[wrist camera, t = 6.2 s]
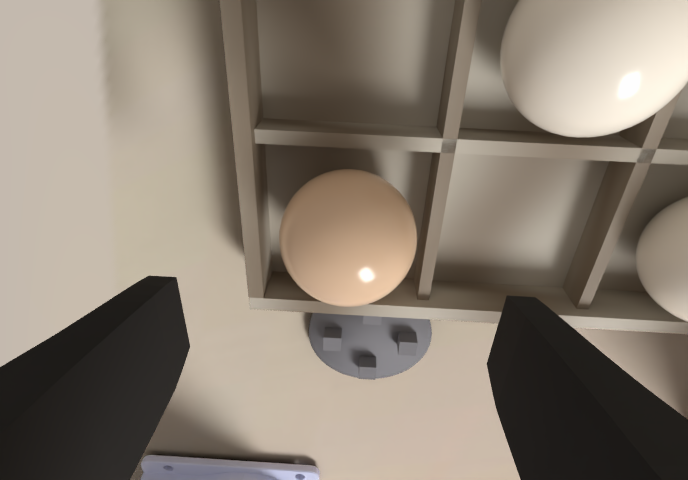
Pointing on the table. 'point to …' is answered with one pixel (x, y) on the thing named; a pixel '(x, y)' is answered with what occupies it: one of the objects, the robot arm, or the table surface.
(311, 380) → the table surface
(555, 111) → the cream egg
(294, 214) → the brown egg
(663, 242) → the cream egg
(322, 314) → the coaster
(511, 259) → the carton
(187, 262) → the table surface
